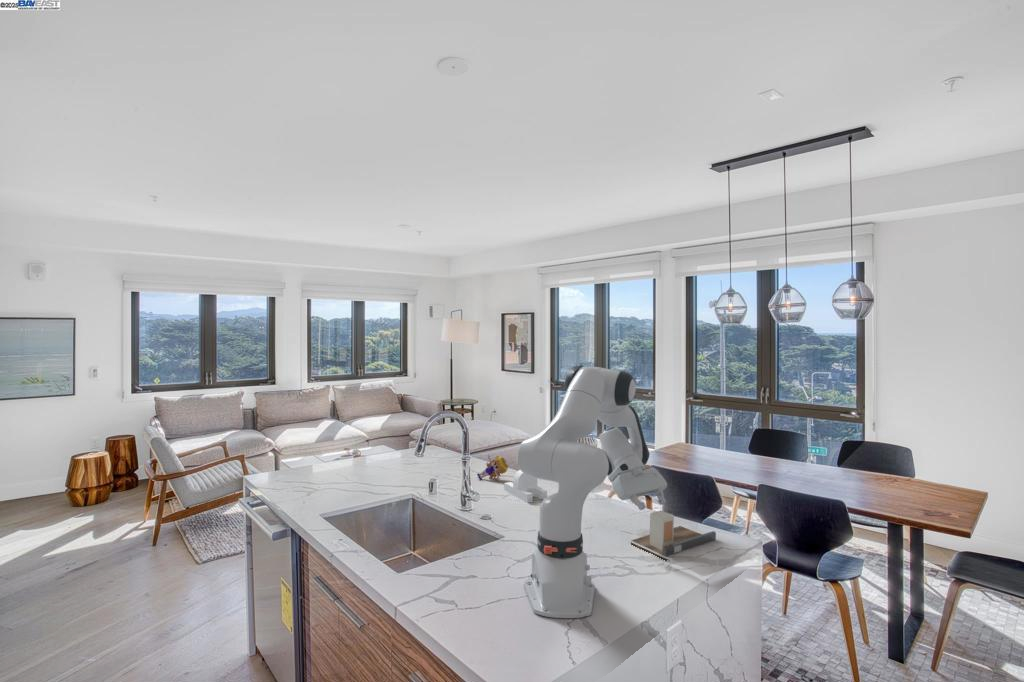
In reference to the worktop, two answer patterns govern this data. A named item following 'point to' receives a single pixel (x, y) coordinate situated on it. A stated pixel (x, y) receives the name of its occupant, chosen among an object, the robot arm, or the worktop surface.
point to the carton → (661, 529)
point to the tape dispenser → (525, 487)
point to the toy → (494, 468)
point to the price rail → (689, 543)
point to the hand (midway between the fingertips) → (653, 506)
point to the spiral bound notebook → (678, 536)
